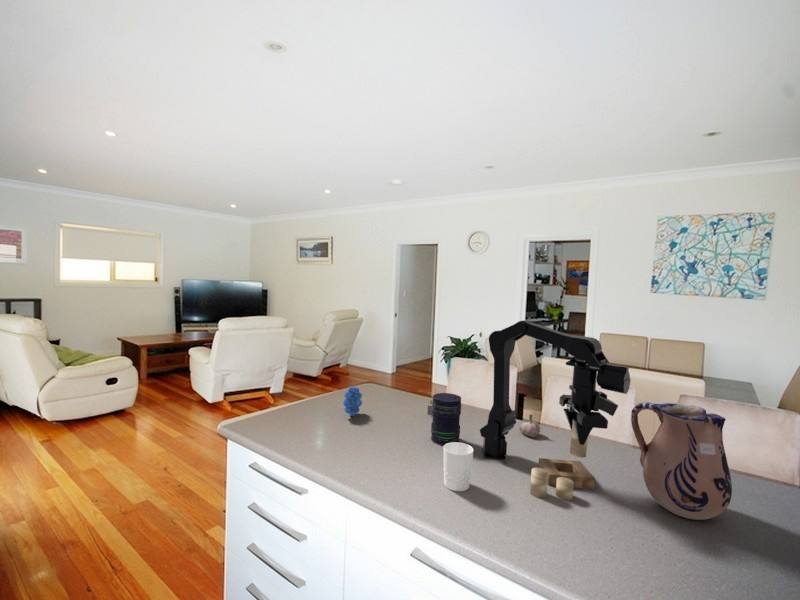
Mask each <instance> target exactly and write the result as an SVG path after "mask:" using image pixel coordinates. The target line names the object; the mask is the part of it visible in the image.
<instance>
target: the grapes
mask: <svg viewBox="0 0 800 600" xmlns="http://www.w3.org/2000/svg"><path fill="white" fill-rule="evenodd" d="M362 397H363V395H362V393H361V392H360V389H359V387H358V386H349V387H348V391H345V392H344V398H345V399H343V401H342V405H343V406H344V412H345V413H346V414H348V415H349V416H350V417H353V416H355V415H356V414H358V413H359V412H360V407H361V406H362V405H363V402H362Z"/></svg>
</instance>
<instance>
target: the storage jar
mask: <svg viewBox="0 0 800 600" xmlns="http://www.w3.org/2000/svg"><path fill="white" fill-rule="evenodd" d="M432 400H433V401H432V402H433V403H432V413H433V416H432V422H431V424H430V425H431V427H430V434H431V435H430V440H431V442H432V443H434V444H435V445H439V446H443V447H444V445H445V444H447V443H451V442H459V443H460V434H461V425H460V417H461V414H462V397H461V396H460V395H457V394H455V393H447V392H441V393H439V392H438V393H434V394H433V395H432Z"/></svg>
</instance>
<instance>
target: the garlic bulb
mask: <svg viewBox="0 0 800 600" xmlns="http://www.w3.org/2000/svg"><path fill="white" fill-rule="evenodd" d="M518 429H519V432H520V433H522V434H524V435H526V436H528V437H531V438H537V436H538V434H540V433H541V427H540V424H538V423H537V422H535V421H533V413H529V414H528V421H527V422H526V421H525V422H521V423H520V425H519V428H518Z"/></svg>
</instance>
